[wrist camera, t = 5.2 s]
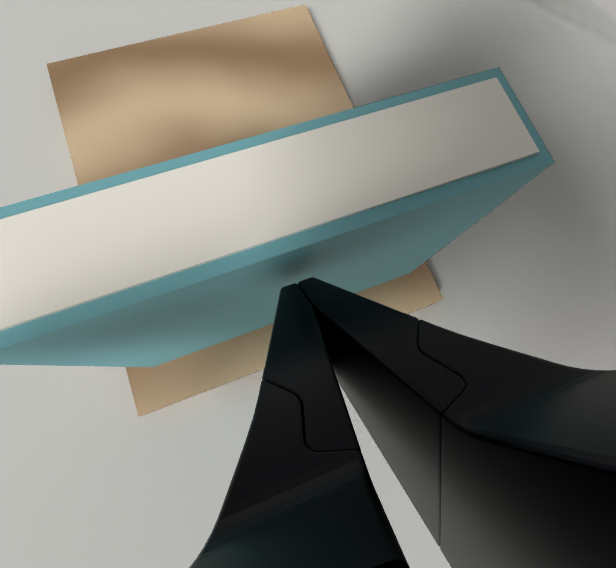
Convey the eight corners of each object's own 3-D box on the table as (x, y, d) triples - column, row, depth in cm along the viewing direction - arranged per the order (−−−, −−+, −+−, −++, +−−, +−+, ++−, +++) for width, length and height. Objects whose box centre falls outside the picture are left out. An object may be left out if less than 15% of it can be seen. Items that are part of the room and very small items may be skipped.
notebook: (409, 273, 16) (558, 159, 7) (150, 368, 15) (-55, 365, 6) (387, 224, 17) (501, 63, 8) (134, 310, 15) (-78, 225, 6)
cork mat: (436, 302, 17) (443, 299, 16) (146, 413, 15) (138, 416, 14) (304, 18, 20) (305, 4, 20) (56, 76, 18) (46, 64, 18)
